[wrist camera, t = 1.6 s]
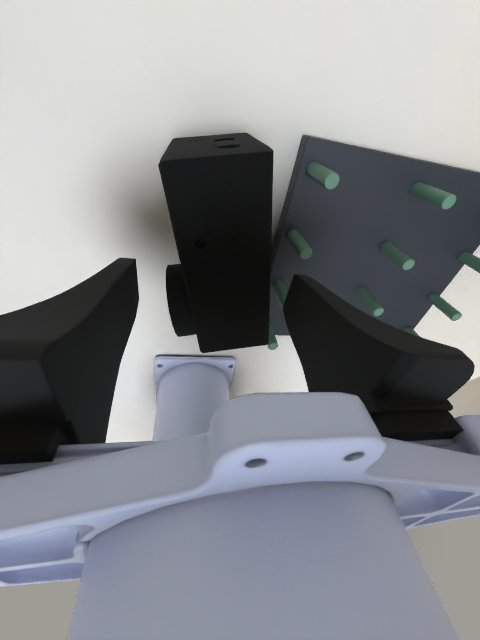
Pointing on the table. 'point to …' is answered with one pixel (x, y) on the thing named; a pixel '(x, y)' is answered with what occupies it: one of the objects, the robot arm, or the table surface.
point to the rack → (374, 232)
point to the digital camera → (220, 239)
